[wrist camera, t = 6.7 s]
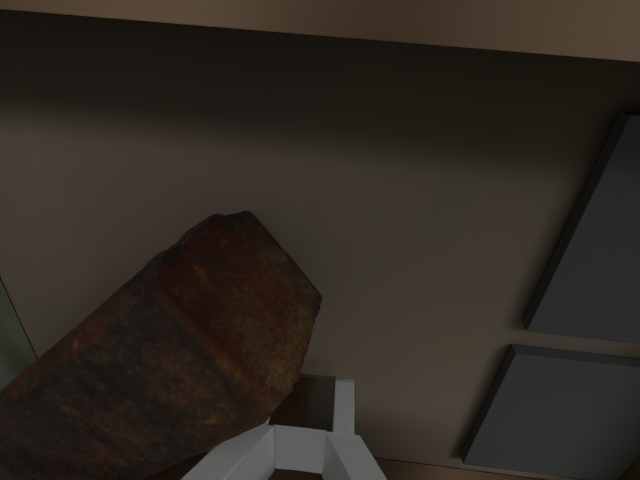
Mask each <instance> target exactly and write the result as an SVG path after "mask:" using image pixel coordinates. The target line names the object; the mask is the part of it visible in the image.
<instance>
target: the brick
mask: <svg viewBox="0 0 640 480" xmlns="http://www.w3.org/2000/svg"><path fill="white" fill-rule="evenodd" d="M321 302H322V296H321V294H320V293H319V292H318V290H317V289H316V288H315V287H314V285H313V284H312V283H311V282H310V280H309V279H308V278H307V277H306V275H305V274H304V273H303V272H302V271H301V269H300V268H299V267H298V266H297V265H296V263H295V262H294V261H293V260H292V259H291V257H290V256H289V255H288V254H287V253H286V252H285V251H284V250H283V249H282V248H281V246H280V245H279V244H278V243H277V242H276V240H275V239H274V238H273V237H272V235H271V234H270V233H269V232H268V231H267V230H266V228H265V227H264V226H263V225H262V224H261V223H260V222H259V220H258V219H257V218H256V217H255V216H254V215H253V214H252V213H251V212H249V211H247V210H246V211H243V212H241V213H236V214H233V215H232V214H230V215H228V216H224V215H221V214H214V215H212V216H209V217H208V218H206V219H204V220H203V221H201V222H200V223H199V224H197V225H196V226H194V227H193V228H192V229H190V230H189V231H187V232H186V233H185V234H184V235H183V236H182V237H181V238H180V241H178V242H177V243H176V244H175V245H173V246H172V247H170V248H169V249H168V250H166V251H163V252H160V253H159V254H158V255H156V256H155V257H154V258H152V259H151V260H150V261H149V262H147V264H146V265H145V267H144V269H142V270H141V271H139V272H138V273H137V274H136V275H135V276H134V277H133V278H132V279H131V280H130V281H128V282H127V283H126V284H124V285H123V286H122V287H121V288H120V289H118V290H117V291H116V292H115V293H114V294H113V295H112V296H111V297H110V298H109V299H107V300H106V301H105V302H104V303H103V304H102V305H101V306H100V307H99V308H97V309H96V310H95V311H94V312H93V313H92V314H91V315H89V316H88V317H87V318H86V319H85V320H84V321H83V322H82V323H81V324H79V325H78V326H77V327H76V328H74V329H73V330H72V331H71V332H70V333H69V334H67V335H66V336H65V337H64V338H63V339H62V340H61V341H59V342H58V343H57V344H56V345H54V346H53V347H52V348H51V349H50V350H48V351H47V352H46V353H44V354H43V355H42V356H41V357H39V358H38V359H37V360H36V361H35V362H34V363H32V364H30V365H29V366H27V367H26V368H25V369H24V370H23V371H22V372H21V374H19V375H18V376H17V377H16V378H14V379H13V380H12V381H11V382H10V383H9V384H7V385H6V386H5V387H4V388H3V389H2V390H1V391H0V480H141V479H143V478H146V477H148V476H150V475H153V474H155V473H157V472H159V471H162V470H164V469H166V468H168V467H170V466H172V465H174V464H181V462H182V461H183V460H185V459H188V458H191V457H193V456H196V455H198V454H201V453H204V452H208V451H210V450H212V449H213V448H215V447H217V446H219V445H220V444H221V443H222V442H224V441H227V440H229V439H232V438H234V437H237V436H239V435H241V434H242V433H244V432H246V431H249V430H251V429H253V428H256V427H258V426H260V425H262V424H264V423H265V422H266V421H267V420H268V418H269V417H270V416H271V414H272V413H273V411H274V410H275V409H276V408H277V407H278V406H279V405H280V404H281V402H282V400H283V399H284V398H285V397H286V396H287V395H288V394H289V393H290V392H292V391H293V384H294V383H295V382H299V379H300V373H301V368H300V367H301V366H302V365H303V361H304V357H305V355H306V353H307V350H308V346H309V342H310V338H311V334H312V329H313V326H314V324H315V318H316V316H317V314H318V312H319V309H320V303H321Z"/></svg>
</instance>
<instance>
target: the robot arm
mask: <svg viewBox="0 0 640 480" xmlns="http://www.w3.org/2000/svg"><path fill="white" fill-rule="evenodd" d="M274 468H277V469H289V470H299V471H306V472H313V473H320V474H322V478H323V480H387V478H386V477H385V475H384V474H383V472H382V470H381V469H380V467H379V465H378V464H377V462H376V461H375V459H374V457H373V456H372V454H371V452H370V451H369V449H368V448H367V446H366V444H365V443H364V441H363V440H362V438H361V436H360V435H354V380H353V379H350V378H341V377H336V378H335V376H324V375H313V374H302V373H300V379H299V382H295V383H294V384H293V391H292V392H290V393H289V394H288V395H287V396H286V397H285V398H284V399H283V400H282V402H281V404H280V405H279V406H278V407H277V408H276V409H275V410H274V411H273V413H272V414H271V416H270V417H269V418H268V420H267V421H266V422H265V423H264V424H262V425H260V426H258V427H256V428H253V429H251V430H249V431H246V432H244V433H242V434H241V435H239V436H237V437H234V438H232V439H229V440H227V441H224V442H222V443H221V444H220V445H219V446H217V447H215V448H213V449H212V450H211V451H210V452H209V453H208V454H207V455H206V456H205V457H204V458H203V459H202V460H201V461H200V462H199V463H198V464H197V465H195V466H194V467H193V468H192V469H191V470H190V471H189V472H188V473H187V474H186V475H185V476H184V477H183V478H182V479H181V480H268V478H269V477H270V476H271V474H272V473H273V472H274Z"/></svg>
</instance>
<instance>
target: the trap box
mask: <svg viewBox="0 0 640 480" xmlns="http://www.w3.org/2000/svg"><path fill="white" fill-rule="evenodd" d="M0 9H7V10H19V11H31V12H43V13H55V14H67V15H79V16H91V17H103V18H115V19H127V20H140V21H152V22H164V23H176V24H188V25H200V26H212V27H224V28H236V29H248V30H260V31H272V32H284V33H297V34H309V35H321V36H333V37H345V38H357V39H369V40H381V41H393V42H405V43H417V44H429V45H442V46H454V47H466V48H478V49H490V50H502V51H514V52H526V53H538V54H550V55H562V56H574V57H586V58H599V59H611V60H623V61H635V62H640V0H0ZM36 360H37V359H36V356H35V354H34V352H33V350H32V348H31V346H30V343H29V341H28V339H27V337H26V335H25V332H24V330H23V328H22V326H21V324H20V322H19V319H18V317H17V315H16V313H15V311H14V308H13V306H12V304H11V302H10V300H9V298H8V295H7V293H6V291H5V289H4V287H3V284H2V282H1V280H0V391H1V390H2V389H3V388H4V387H5V386H6V385H7V384H9V383H10V382H11V381H12V380H13V379H14V378H16V377H17V376H18V375H19V374H21V372H22V371H23V370H24V369H25V368H26V367H27V366H29V365H30V364H32V363H34V362H35V361H36ZM210 451H211V450H210ZM210 451H208V452H204V453H201V454H198V455H196V456H193V457H191V458H188V459H185V460H183V461H182V462H181V464H174V465H172V466H170V467H168V468H166V469H164V470H162V471H159V472H157V473H155V474H153V475H150V476H148V477H146V478H143V479H141V480H181V479H182V478H183V477H184V476H185V475H186V474H187V473H188V472H189V471H190V470H191V469H192V468H193V467H194V466H195V465H197V464H198V463H199V462H200V461H201V460H202V459H203V458H204V457H205V456H206V455H207V454H208V453H209V452H210ZM374 459H375V461H376V462H377V464H378V465H379V467H380V469H381V470H382V472H383V474H384V475H385V477H386V478H387V480H540V479H532V478H524V477H517V476H509V475H501V474H493V473H486V472H478V471H470V470H462V469H455V468H447V467H439V466H431V465H424V464H416V463H408V462H400V461H393V460H385V459H377V458H374ZM268 480H323V478H322V474H320V473H313V472H306V471H299V470H289V469H277V468H274V472H273V473H272V474H271V476H270V477H269V478H268ZM617 480H640V454H639V456H638V457H637V458H636V459H635V460H634V461H633V462H632V463H631V464H630V466H629V467H628V468H627V469H626V470H625V471H624V472H623V473H622V474H621V476H620V477H619V478H618V479H617Z"/></svg>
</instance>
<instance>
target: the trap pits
mask: <svg viewBox="0 0 640 480" xmlns="http://www.w3.org/2000/svg"><path fill="white" fill-rule="evenodd" d="M522 322H523V324H524V326H525V328H526V329H527V331H535V332H544V333H553V334H562V335H571V336H579V337H588V338H597V339H606V340H615V341H624V342H632V343H640V114H638V113H627V112H619V114H618V116H617V119H616V121H615V123H614V125H613V127H612V129H611V131H610V134H609V136H608V138H607V140H606V142H605V144H604V147H603V149H602V151H601V153H600V155H599V157H598V159H597V162H596V164H595V166H594V168H593V170H592V172H591V175H590V177H589V179H588V181H587V183H586V185H585V187H584V190H583V192H582V194H581V196H580V198H579V200H578V202H577V205H576V207H575V209H574V211H573V213H572V215H571V218H570V220H569V222H568V224H567V226H566V228H565V230H564V233H563V235H562V237H561V239H560V241H559V243H558V245H557V248H556V250H555V252H554V254H553V256H552V258H551V261H550V263H549V265H548V267H547V269H546V271H545V273H544V276H543V278H542V280H541V282H540V284H539V286H538V288H537V291H536V293H535V295H534V297H533V299H532V301H531V304H530V306H529V308H528V310H527V312H526V314H525V316H524V319H523V321H522ZM639 454H640V359H636V358H627V357H618V356H610V355H601V354H592V353H583V352H575V351H566V350H557V349H549V348H540V347H531V346H522V345H514V344H511V347H510V349H509V351H508V353H507V355H506V357H505V359H504V362H503V364H502V366H501V368H500V370H499V372H498V375H497V377H496V379H495V381H494V383H493V385H492V387H491V390H490V392H489V394H488V396H487V398H486V400H485V402H484V405H483V407H482V409H481V411H480V413H479V415H478V418H477V420H476V422H475V424H474V426H473V428H472V430H471V433H470V435H469V437H468V439H467V441H466V443H465V445H464V448H463V450H462V452H461V458H462V462H463V464H468V465H476V466H484V467H491V468H499V469H507V470H515V471H523V472H530V473H538V474H546V475H554V476H561V477H569V478H577V479H585V480H617V479H618V478H619V477H620V476H621V474H622V473H623V472H624V471H625V470H626V469H627V468H628V467H629V466H630V464H631V463H632V462H633V461H634V460H635V459H636V458H637V457H638V456H639Z"/></svg>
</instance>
